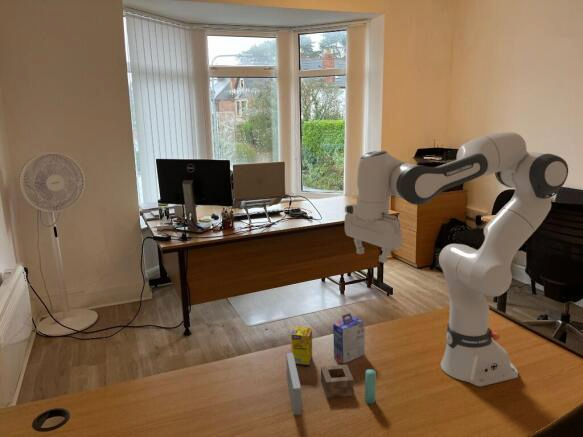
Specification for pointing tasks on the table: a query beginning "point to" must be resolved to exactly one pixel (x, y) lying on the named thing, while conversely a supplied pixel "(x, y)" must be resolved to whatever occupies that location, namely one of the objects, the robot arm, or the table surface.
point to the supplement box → (302, 346)
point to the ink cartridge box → (349, 339)
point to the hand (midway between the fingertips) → (371, 257)
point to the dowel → (370, 386)
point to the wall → (293, 384)
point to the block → (337, 381)
